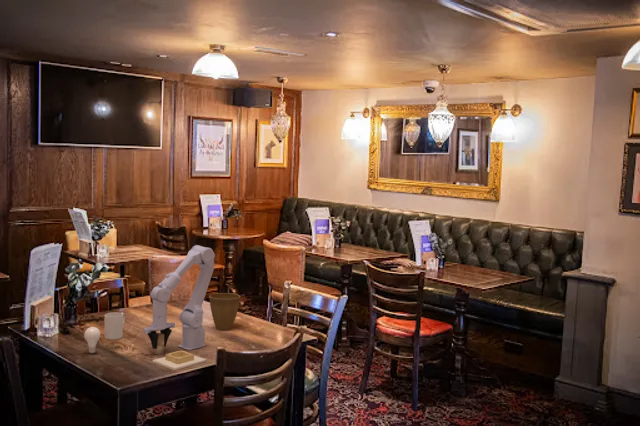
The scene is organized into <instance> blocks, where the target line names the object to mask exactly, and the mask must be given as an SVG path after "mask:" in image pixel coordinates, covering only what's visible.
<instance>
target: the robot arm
mask: <svg viewBox="0 0 640 426" xmlns="http://www.w3.org/2000/svg"><path fill="white" fill-rule="evenodd" d="M215 257H216V254H215V252H214V251H213V248H211V247H206V246H205V247H204V246H202V245H199V244H195V245H194V246H192V248H191V249H189V251H188V253H187V255H186V256H185V258H184V259H183V260H182V261H181V263H179V265H178V267H177V268H176V269H175V270H174V272H173V271H172V272H169V273H167V274H166V275H165V278H164V279H163V280H162V281H161V282H160V283H158V285H157V286H155V287H153V288H152V290H151V291H150V294H149V295H150V298H151V299H152V324H151V325H150V326H148V327H144V328H143V334H145V335H147V336H148V337H149V340H150V344H151V346H152V349H153V350H154V349H157V340H158V336H159V334H158V333H164V348H165V347H166V346H167V344H168V343H167V342H168V339H169V338H170V335H171V334H172V329H175V328H176V323H175V322H168V316H167V315H168V301H169V299H170V298H171V293H172V292H173V291H174V290H175V288H176V287H177V286H178V285H179V283H180V282H181V278H182V277H183V276H184V275H185V274H186V273H187V271H188V270H190V268H191V267H192V266H193V265H198V266H199V268H200V270H199V273H198V276H197V279H196V282H195V285H194V288H193V290H192V294H191V296H190V300H189V303H187V304H186V305H185V306H184V308H183V310H182V311H181V313H180V314H179V322H181V326H182V333H181V334H182V335H181V336H182V340H181V343H180V344H177V347H178V348H181V349H185V350H187V351H191V350H195V349H199V348H203V347H206V346H207V345H206V343H205V341H206V330H205V327H204V326H203V325H202V324H203V321H204V319H203V318H204V317H203V316H204V310H203V308H202V306H203V303H204V300H205V297H206V294H207V291H208V288H209V285H210V282H211V278H212V275H213V273H214V269H215ZM158 331H160V332H158Z"/></svg>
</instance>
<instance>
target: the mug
mask: <svg viewBox="0 0 640 426" xmlns="http://www.w3.org/2000/svg"><path fill="white" fill-rule="evenodd" d="M125 320H126V314H125V313H124V312H116V311H115V312H108V313H105V314H104V327H103V328H104V332H103V334H104V339H105V340H111V341H112V340H114V341H115V340H120V339H123V337H124V323H125Z"/></svg>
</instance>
